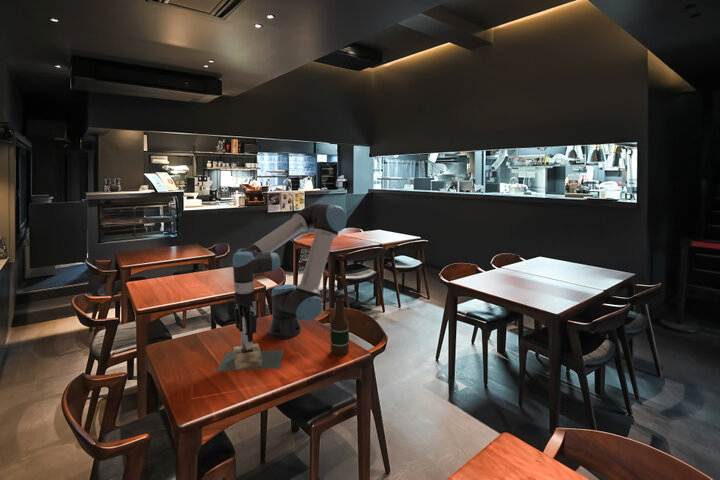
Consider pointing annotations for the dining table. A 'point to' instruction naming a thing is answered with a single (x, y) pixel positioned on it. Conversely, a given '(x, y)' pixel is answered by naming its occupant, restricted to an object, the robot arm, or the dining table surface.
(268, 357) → the felt mat
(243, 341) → the metal peg
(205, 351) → the dining table surface
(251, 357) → the wooden square socket block
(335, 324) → the beer bottle
